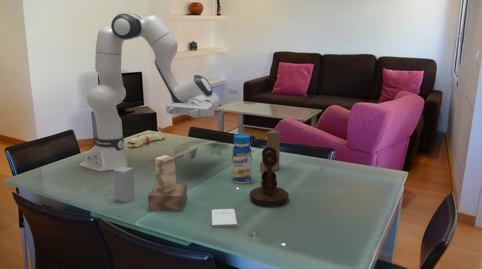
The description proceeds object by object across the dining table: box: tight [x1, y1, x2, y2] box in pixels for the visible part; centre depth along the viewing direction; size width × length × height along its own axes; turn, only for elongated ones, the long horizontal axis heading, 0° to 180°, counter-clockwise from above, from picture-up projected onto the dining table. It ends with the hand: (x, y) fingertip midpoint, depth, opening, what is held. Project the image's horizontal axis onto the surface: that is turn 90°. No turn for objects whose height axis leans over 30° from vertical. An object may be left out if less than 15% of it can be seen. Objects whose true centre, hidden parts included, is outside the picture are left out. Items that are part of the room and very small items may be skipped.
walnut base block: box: [147, 183, 188, 211], centre depth 158 cm, size 12×12×6 cm
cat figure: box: [127, 126, 166, 148], centre depth 241 cm, size 10×9×25 cm
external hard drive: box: [211, 208, 238, 229], centre depth 146 cm, size 2×8×12 cm
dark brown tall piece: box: [248, 146, 289, 206], centre depth 160 cm, size 15×15×20 cm
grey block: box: [113, 166, 136, 203], centre depth 161 cm, size 5×5×12 cm
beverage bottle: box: [231, 133, 253, 185], centre depth 180 cm, size 8×8×20 cm
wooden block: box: [259, 129, 281, 173], centre depth 194 cm, size 9×4×18 cm, turn 139°
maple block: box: [154, 154, 177, 193], centre depth 155 cm, size 5×5×12 cm
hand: (179, 112), depth 173 cm, fingers open, 8 cm apart
